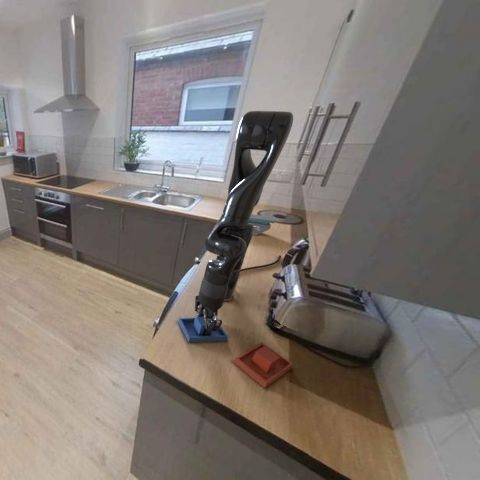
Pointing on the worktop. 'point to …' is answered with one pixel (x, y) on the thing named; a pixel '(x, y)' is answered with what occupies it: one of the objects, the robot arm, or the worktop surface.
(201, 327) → the blue block
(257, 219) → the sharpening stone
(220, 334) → the blue tray
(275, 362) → the rust block
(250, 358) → the rust tray
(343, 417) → the worktop surface
